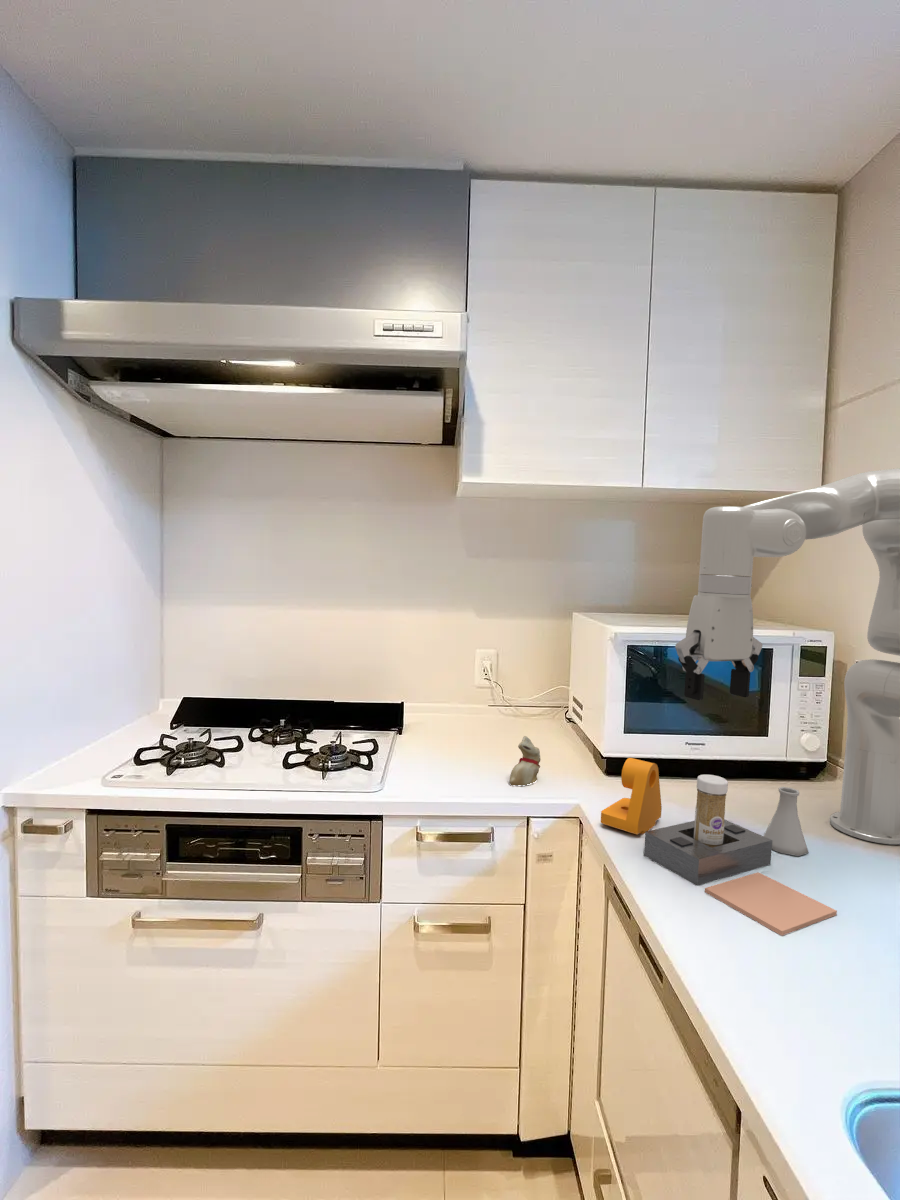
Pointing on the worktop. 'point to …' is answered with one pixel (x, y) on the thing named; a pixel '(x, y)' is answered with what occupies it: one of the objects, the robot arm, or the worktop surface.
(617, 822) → the bracket
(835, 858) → the worktop surface
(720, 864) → the socket bar
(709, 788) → the sprinkles bottle
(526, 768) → the chocolate bunny
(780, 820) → the flask
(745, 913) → the coaster
